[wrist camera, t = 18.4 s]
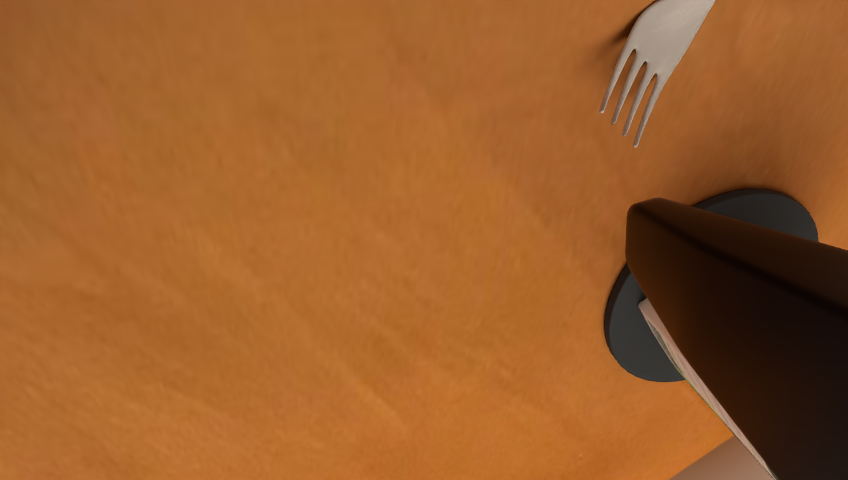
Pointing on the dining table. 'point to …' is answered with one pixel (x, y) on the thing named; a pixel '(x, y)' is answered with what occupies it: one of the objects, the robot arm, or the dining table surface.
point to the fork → (656, 51)
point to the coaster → (623, 315)
